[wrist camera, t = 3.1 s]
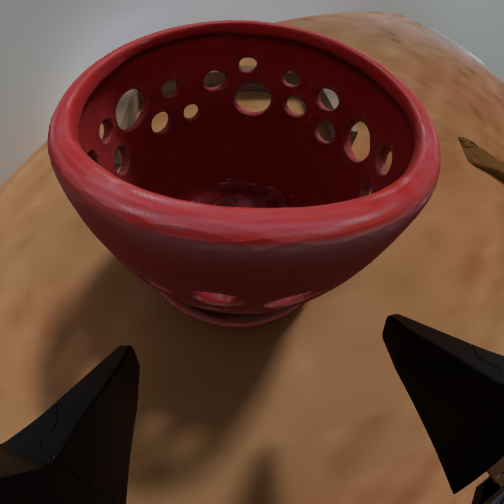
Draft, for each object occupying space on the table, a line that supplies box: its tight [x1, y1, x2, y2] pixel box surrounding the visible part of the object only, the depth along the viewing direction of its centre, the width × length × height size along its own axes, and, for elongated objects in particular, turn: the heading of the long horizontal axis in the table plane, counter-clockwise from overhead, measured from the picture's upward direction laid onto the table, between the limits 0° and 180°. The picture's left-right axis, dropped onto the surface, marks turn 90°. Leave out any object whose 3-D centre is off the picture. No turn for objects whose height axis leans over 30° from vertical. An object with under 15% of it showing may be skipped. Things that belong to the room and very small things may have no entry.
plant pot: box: [48, 20, 441, 327], centre depth 12 cm, size 13×13×12 cm
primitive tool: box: [458, 137, 504, 181], centre depth 24 cm, size 19×6×4 cm, turn 78°
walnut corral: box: [114, 66, 358, 165], centre depth 21 cm, size 11×20×2 cm, turn 97°
